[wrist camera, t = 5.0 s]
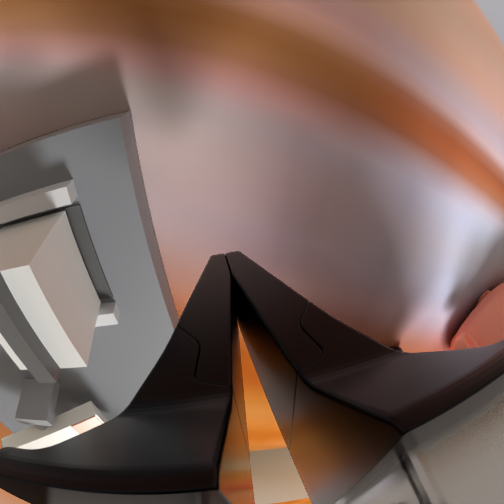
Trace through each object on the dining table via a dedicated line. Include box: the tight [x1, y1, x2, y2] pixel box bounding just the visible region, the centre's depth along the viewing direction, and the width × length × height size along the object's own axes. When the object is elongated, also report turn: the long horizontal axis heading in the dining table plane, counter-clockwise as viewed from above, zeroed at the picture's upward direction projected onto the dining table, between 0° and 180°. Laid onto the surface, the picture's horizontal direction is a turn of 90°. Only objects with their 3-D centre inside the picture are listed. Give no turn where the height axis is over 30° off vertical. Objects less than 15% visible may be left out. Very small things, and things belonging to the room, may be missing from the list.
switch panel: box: [0, 111, 179, 433], centre depth 13 cm, size 18×23×5 cm
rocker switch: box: [1, 401, 109, 449], centre depth 12 cm, size 7×4×1 cm, turn 94°
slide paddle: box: [0, 211, 101, 383], centre depth 8 cm, size 3×4×4 cm
